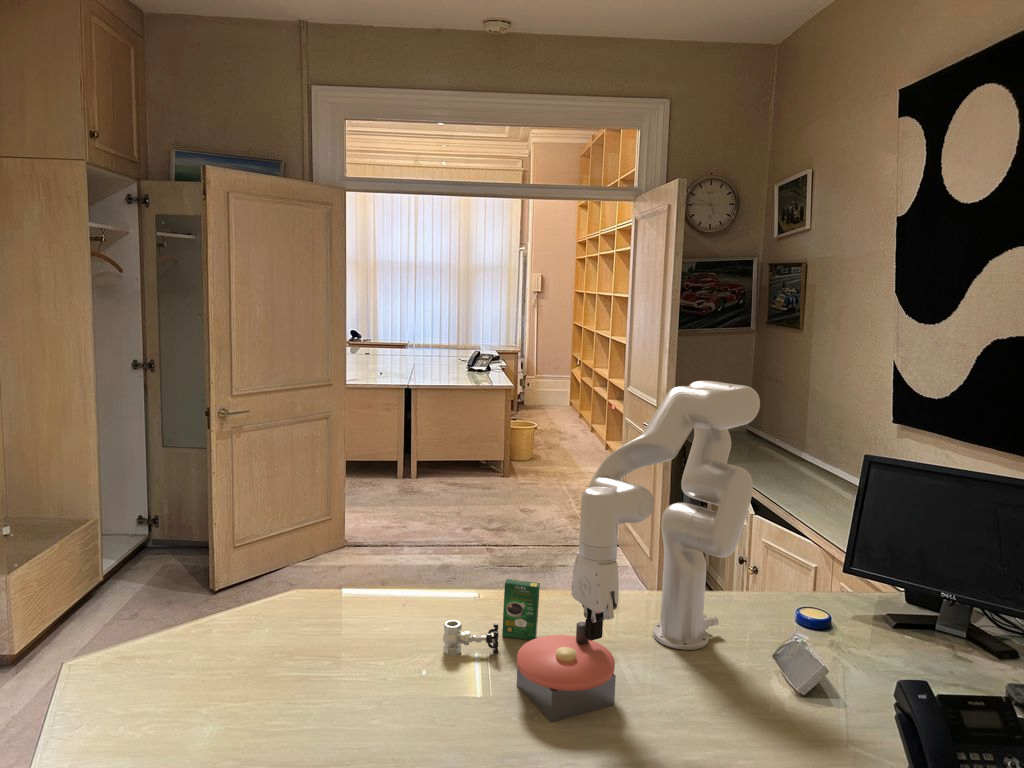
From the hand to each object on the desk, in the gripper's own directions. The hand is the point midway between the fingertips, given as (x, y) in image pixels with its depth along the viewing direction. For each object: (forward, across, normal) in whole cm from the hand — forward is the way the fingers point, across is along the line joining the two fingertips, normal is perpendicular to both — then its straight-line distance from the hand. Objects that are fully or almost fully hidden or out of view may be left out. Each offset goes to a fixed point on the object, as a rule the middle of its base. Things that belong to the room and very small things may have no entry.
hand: (593, 637), depth 148 cm
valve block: (+10, +1, -7) cm, 12 cm away
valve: (+10, -23, -16) cm, 30 cm away
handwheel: (+4, +1, -7) cm, 8 cm away
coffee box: (+10, -24, -2) cm, 26 cm away
